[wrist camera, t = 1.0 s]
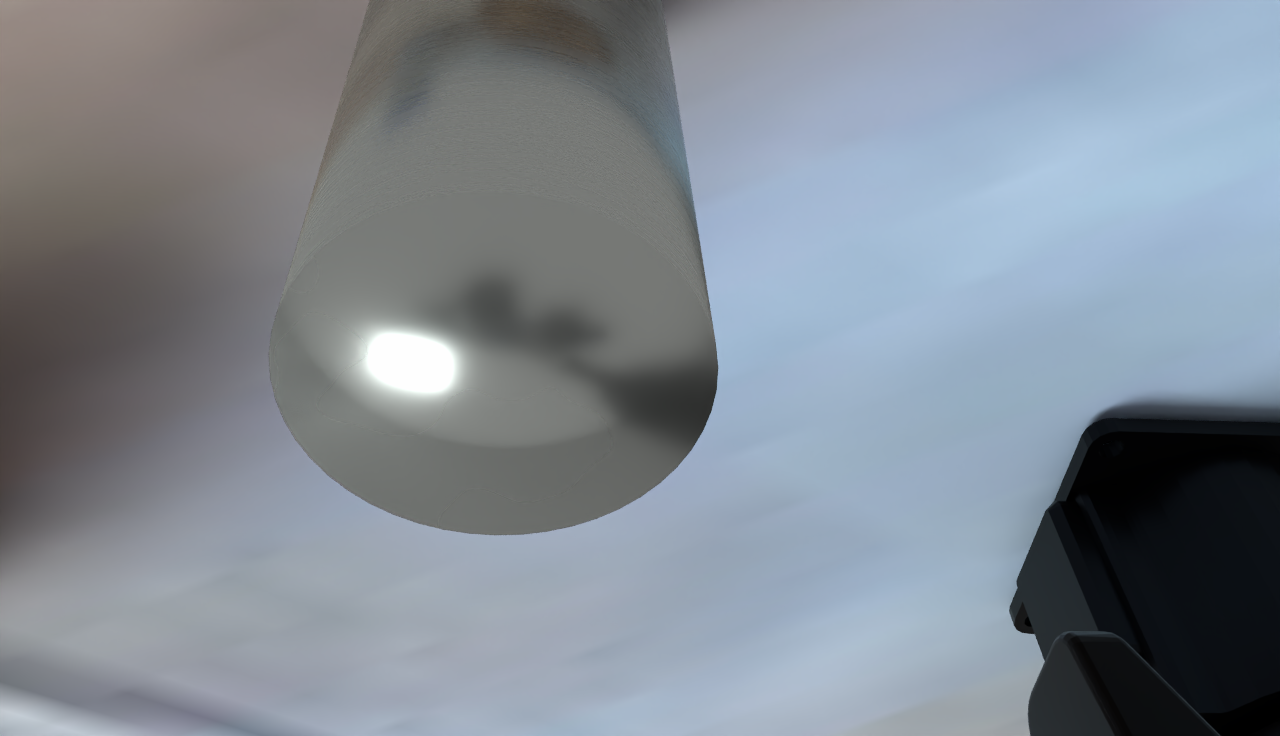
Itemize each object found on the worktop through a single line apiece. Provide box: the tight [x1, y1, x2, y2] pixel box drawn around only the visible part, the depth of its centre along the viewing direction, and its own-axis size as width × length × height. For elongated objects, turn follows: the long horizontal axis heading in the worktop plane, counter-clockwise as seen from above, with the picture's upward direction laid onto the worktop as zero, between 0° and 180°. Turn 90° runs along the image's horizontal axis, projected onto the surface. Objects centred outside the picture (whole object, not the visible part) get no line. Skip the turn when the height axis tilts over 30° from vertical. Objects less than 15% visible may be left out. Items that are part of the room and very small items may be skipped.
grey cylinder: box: [269, 0, 718, 535], centre depth 15 cm, size 4×4×10 cm
